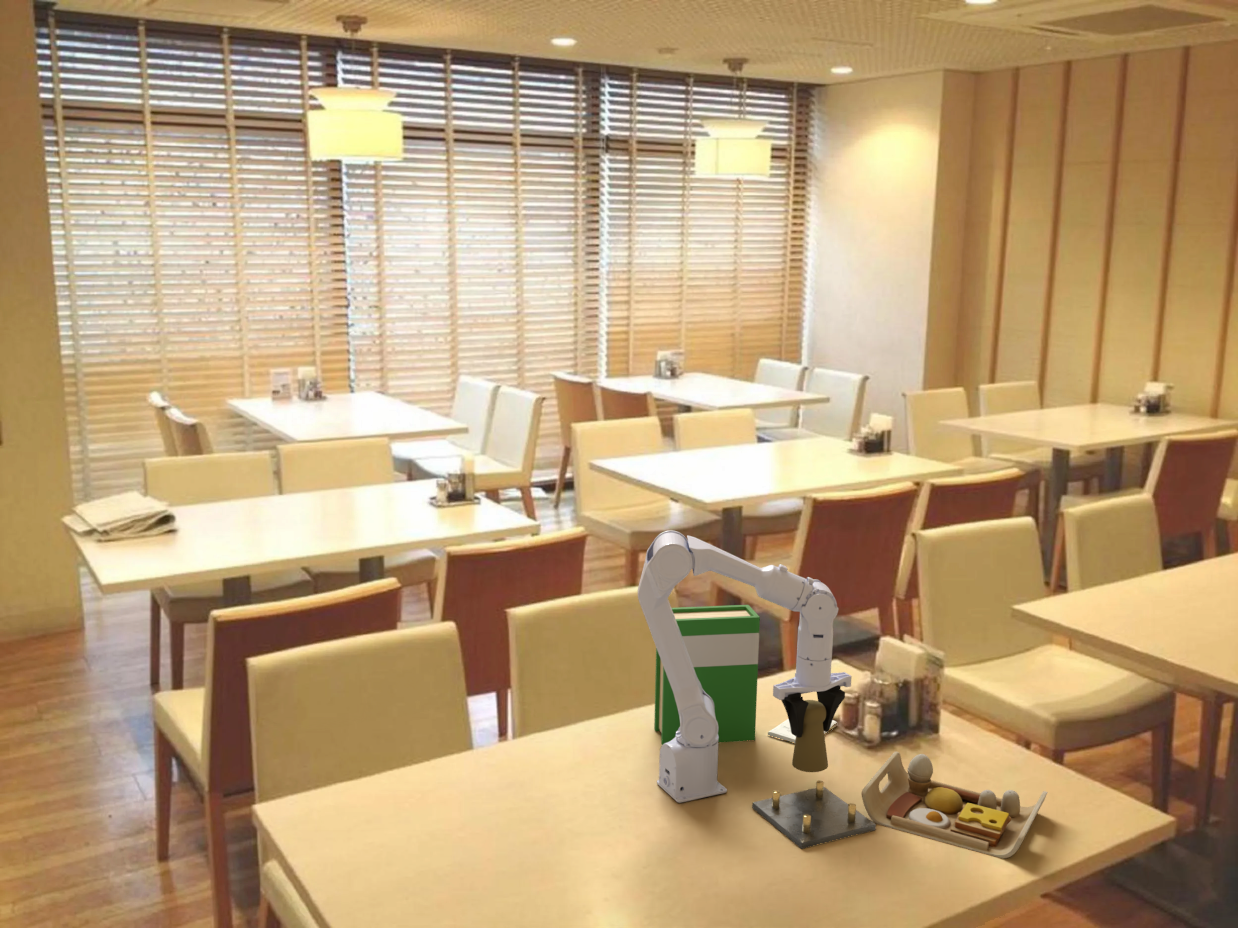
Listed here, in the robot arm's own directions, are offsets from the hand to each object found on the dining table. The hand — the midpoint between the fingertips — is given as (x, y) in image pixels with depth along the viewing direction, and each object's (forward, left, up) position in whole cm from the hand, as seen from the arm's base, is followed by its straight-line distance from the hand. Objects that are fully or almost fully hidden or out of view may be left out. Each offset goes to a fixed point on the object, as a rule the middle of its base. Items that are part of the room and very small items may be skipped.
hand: (810, 732), depth 188 cm
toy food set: (+16, -17, -11) cm, 26 cm away
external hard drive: (+13, +20, -11) cm, 27 cm away
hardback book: (-5, +26, -11) cm, 29 cm away
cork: (0, 0, -6) cm, 6 cm away
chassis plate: (-5, -9, -10) cm, 14 cm away
